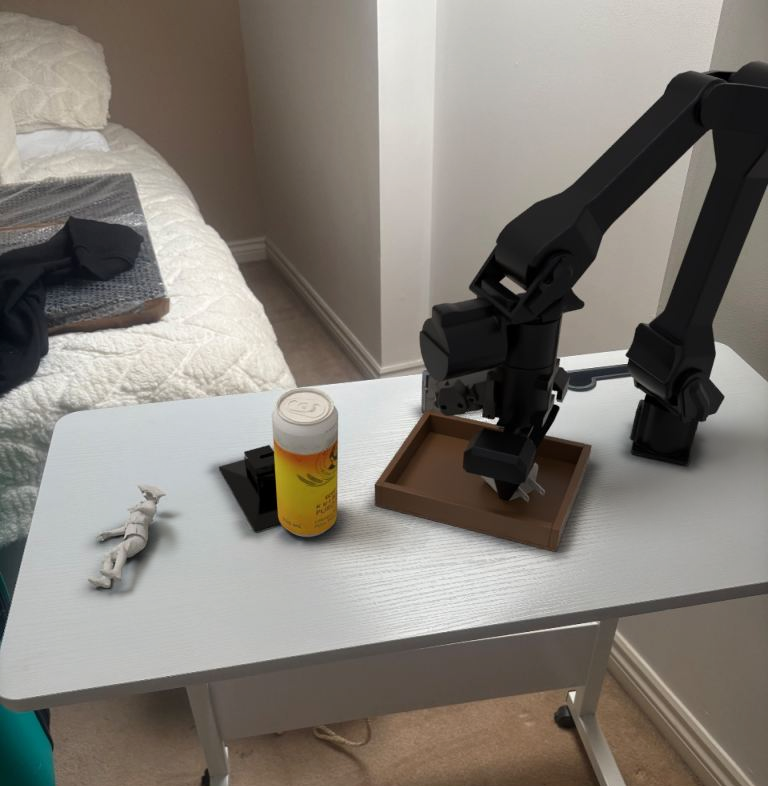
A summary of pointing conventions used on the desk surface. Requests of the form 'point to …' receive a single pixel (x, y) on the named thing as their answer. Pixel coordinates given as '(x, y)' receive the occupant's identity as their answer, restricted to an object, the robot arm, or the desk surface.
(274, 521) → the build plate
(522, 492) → the usb wall charger
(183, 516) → the desk surface
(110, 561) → the soldier figure
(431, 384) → the mini dv tape
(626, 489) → the desk surface
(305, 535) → the beer can
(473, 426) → the tray
